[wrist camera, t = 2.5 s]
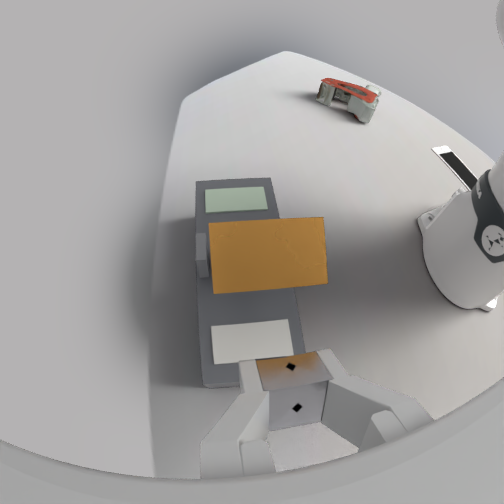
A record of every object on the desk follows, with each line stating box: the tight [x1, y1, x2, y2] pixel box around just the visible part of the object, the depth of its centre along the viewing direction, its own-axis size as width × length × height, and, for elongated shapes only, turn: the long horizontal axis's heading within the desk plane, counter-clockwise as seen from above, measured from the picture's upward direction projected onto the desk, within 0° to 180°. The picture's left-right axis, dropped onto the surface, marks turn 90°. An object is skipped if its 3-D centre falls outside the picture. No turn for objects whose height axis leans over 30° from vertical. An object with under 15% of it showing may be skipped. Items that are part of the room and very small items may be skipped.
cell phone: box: [432, 146, 478, 191], centre depth 45 cm, size 8×16×1 cm, turn 26°
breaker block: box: [195, 178, 306, 388], centre depth 25 cm, size 20×8×9 cm, turn 7°
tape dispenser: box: [315, 78, 381, 123], centre depth 51 cm, size 18×5×20 cm
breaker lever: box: [209, 217, 328, 294], centre depth 17 cm, size 3×5×14 cm, turn 97°
